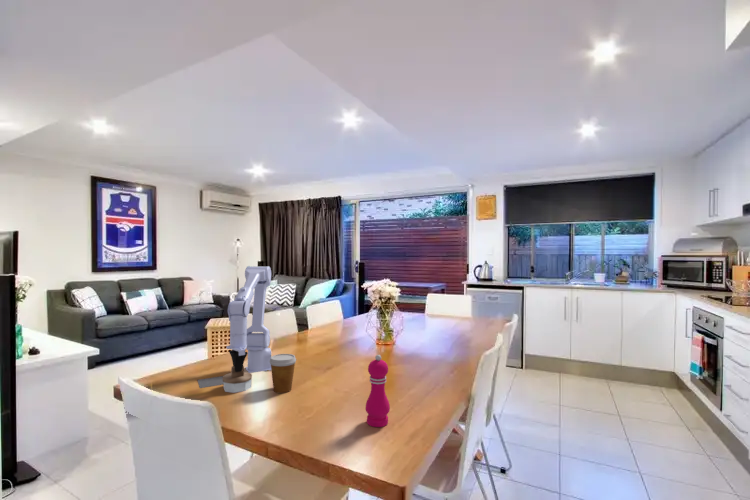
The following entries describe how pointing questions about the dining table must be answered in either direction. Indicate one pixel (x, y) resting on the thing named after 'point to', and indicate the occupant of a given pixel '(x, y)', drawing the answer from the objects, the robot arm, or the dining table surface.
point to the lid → (237, 376)
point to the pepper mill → (377, 394)
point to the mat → (210, 382)
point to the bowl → (237, 386)
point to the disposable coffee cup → (282, 372)
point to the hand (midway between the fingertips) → (237, 370)
